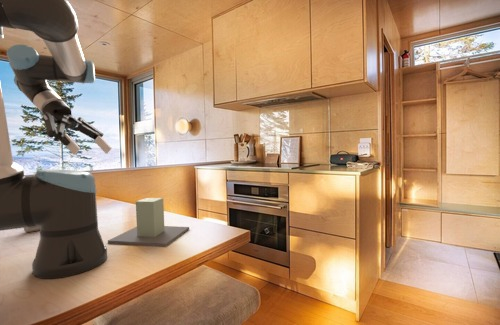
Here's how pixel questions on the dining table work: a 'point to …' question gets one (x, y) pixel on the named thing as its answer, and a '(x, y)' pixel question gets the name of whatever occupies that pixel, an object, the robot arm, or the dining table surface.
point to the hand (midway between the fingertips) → (94, 151)
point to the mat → (159, 240)
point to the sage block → (150, 217)
